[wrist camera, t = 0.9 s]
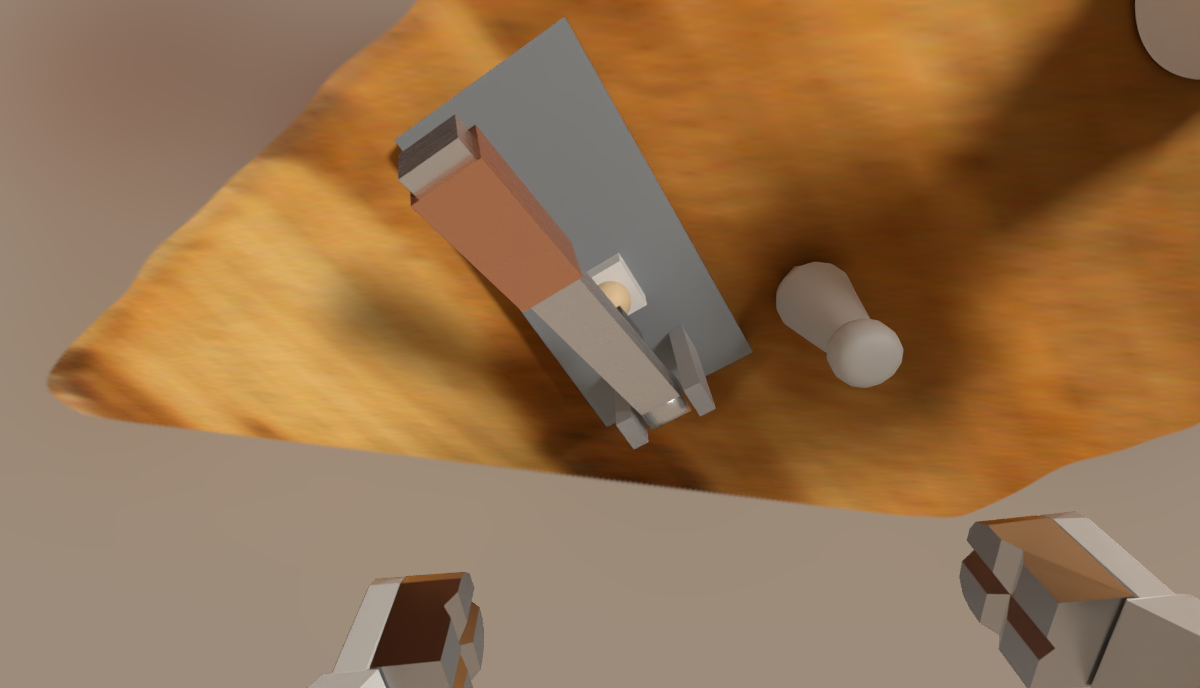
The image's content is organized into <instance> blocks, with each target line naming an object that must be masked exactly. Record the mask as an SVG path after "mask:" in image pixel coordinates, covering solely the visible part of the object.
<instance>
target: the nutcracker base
mask: <svg viewBox="0 0 1200 688" xmlns="http://www.w3.org/2000/svg"><path fill="white" fill-rule="evenodd" d="M454 114H455V115H456V116H457V117H458V118H459V119H460V121H461V122H462V123H463V124H464V125H465V127H466V128H467V129H470V128H471V127H472V126H474V125H475V124H476V126H477V127H478V128H479V129H480V130H481V132H482V133H483V134H484V135H485V137H486V138H487V139H488V140H489V142H490V143H491V144H492V145H493V146H494V148H495V149H496V150H497V151H498V153H499V154H500V155H501V156H502V158H503V159H504V160H505V161H506V162H507V164H508V165H509V166H510V167H511V169H512V170H513V171H514V172H515V173H516V175H517V176H518V177H519V178H520V180H521V181H522V182H523V183H524V185H525V186H526V187H527V188H528V189H529V191H530V192H531V193H532V194H533V196H534V197H535V198H536V199H537V201H538V202H539V203H540V204H541V205H542V207H543V208H544V209H545V210H546V212H547V213H548V214H549V215H550V217H551V218H552V219H553V220H554V221H555V223H556V224H557V225H558V226H559V228H560V229H561V230H562V231H563V233H564V234H565V235H566V236H567V237H568V239H569V240H570V241H571V242H572V245H573V248H574V251H575V254H576V258H577V261H578V262H579V264H580V265H581V266H582V267H583V268H584V270H585V271H586V272H587V273H588V274H589V276H590V277H591V278H592V279H593V280H594V282H595V283H596V284H597V285H598V286H599V288H600V289H601V290H602V291H603V292H604V294H605V295H606V296H607V297H608V298H609V300H610V301H611V302H612V303H613V304H614V306H615V307H616V308H617V307H618V306H621V308H622V309H623V310H624V311H625V313H626V314H627V315H628V316H629V317H630V319H631V320H632V321H633V322H634V324H635V325H636V326H637V327H638V328H639V330H640V331H641V333H642V336H643V339H644V341H645V343H646V344H647V345H648V346H649V348H650V349H651V350H652V351H653V352H654V354H655V355H656V356H657V357H658V358H659V360H660V361H661V362H662V363H663V364H664V366H665V367H666V368H667V369H668V370H669V372H670V373H673V374H674V375H675V376H676V377H677V379H678V380H679V382H680V384H681V385H682V387H683V391H684V392H685V394H686V395H687V397H688V398H689V400H690V402H691V403H692V405H693V406H694V408H695V409H696V411H697V412H698V414H699V416H702V415H704V414H706V413H708V412H710V411H712V410H714V409H716V407H715V404H714V401H713V398H712V395H711V392H710V389H709V386H708V383H707V380H706V376H708V375H710V374H712V373H714V372H716V371H718V370H720V369H722V368H723V367H725V366H727V365H729V364H731V363H733V362H735V361H737V360H739V359H741V358H743V357H745V356H747V355H749V354H751V353H753V351H752V349H751V347H750V346H749V344H748V342H747V340H746V338H745V336H744V335H743V333H742V331H741V329H740V328H739V326H738V324H737V322H736V320H735V319H734V317H733V315H732V313H731V311H730V310H729V308H728V306H727V304H726V303H725V301H724V299H723V297H722V295H721V294H720V292H719V290H718V288H717V287H716V285H715V283H714V281H713V279H712V278H711V276H710V274H709V272H708V271H707V269H706V267H705V265H704V263H703V262H702V260H701V258H700V256H699V254H698V253H697V251H696V249H695V247H694V246H693V244H692V242H691V240H690V238H689V237H688V235H687V233H686V231H685V230H684V228H683V226H682V224H681V222H680V221H679V219H678V217H677V215H676V214H675V212H674V210H673V208H672V206H671V205H670V203H669V201H668V199H667V198H666V196H665V194H664V192H663V190H662V189H661V187H660V185H659V183H658V181H657V180H656V178H655V176H654V174H653V173H652V171H651V169H650V167H649V165H648V164H647V162H646V160H645V158H644V157H643V155H642V153H641V151H640V149H639V148H638V146H637V144H636V142H635V141H634V139H633V137H632V135H631V133H630V132H629V130H628V128H627V126H626V124H625V123H624V121H623V119H622V117H621V116H620V114H619V112H618V110H617V108H616V107H615V105H614V103H613V101H612V100H611V98H610V96H609V94H608V92H607V91H606V89H605V87H604V85H603V84H602V82H601V80H600V78H599V76H598V75H597V73H596V71H595V69H594V67H593V66H592V64H591V62H590V60H589V59H588V57H587V55H586V53H585V51H584V50H583V48H582V46H581V44H580V43H579V41H578V39H577V37H576V35H575V34H574V32H573V30H572V28H571V27H570V25H569V23H568V21H567V19H566V18H565V17H563V18H562V19H561V20H559V21H558V22H556V23H555V24H554V25H552V26H551V27H550V28H548V29H547V30H545V31H544V32H543V33H541V34H540V35H539V36H537V37H536V38H534V39H533V40H532V41H530V42H529V43H528V44H526V45H525V46H523V47H522V48H521V49H519V50H518V51H516V52H515V53H514V54H512V55H511V56H510V57H508V58H507V59H505V60H504V61H503V62H501V63H500V64H499V65H497V66H496V67H494V68H493V69H492V70H490V71H489V72H488V73H486V74H485V75H483V76H482V77H481V78H479V79H478V80H476V81H475V82H474V83H472V84H471V85H470V86H468V87H467V88H465V89H464V90H463V91H461V92H460V93H459V94H457V95H456V96H454V97H453V98H452V99H450V100H449V101H448V102H446V103H445V104H443V105H442V106H441V107H439V108H438V109H437V110H435V111H434V112H432V113H431V114H430V115H428V116H427V117H425V118H424V119H423V120H421V121H420V122H419V123H417V124H416V125H414V126H413V127H412V128H410V129H409V130H408V131H406V132H405V133H403V134H402V135H401V136H399V137H398V138H397V139H395V142H396V143H397V144H398V146H399V147H400V148H401V150H402V151H404V150H405V149H407V148H408V147H410V146H411V145H412V144H414V143H415V142H417V141H418V140H419V139H421V138H422V137H424V136H425V135H426V134H428V133H429V132H431V131H432V130H433V129H435V128H436V127H438V126H439V125H440V124H442V123H443V122H445V121H446V120H447V119H449V118H450V117H452V116H453V115H454ZM520 311H521V310H520ZM521 312H522V311H521ZM522 313H523V315H524V316H525V317H526V319H527V320H528V321H529V323H530V324H531V325H532V327H533V328H534V329H535V331H536V332H537V334H538V335H539V336H540V338H541V339H542V340H543V342H544V343H545V344H546V346H547V347H548V348H549V350H550V351H551V352H552V354H553V355H554V357H555V358H556V359H557V361H558V362H559V363H560V365H561V366H562V367H563V369H564V370H565V371H566V373H567V374H568V375H569V377H570V378H571V380H572V381H573V382H574V384H575V385H576V386H577V388H578V389H579V390H580V392H581V393H582V394H583V396H584V397H585V398H586V400H587V401H588V403H589V404H590V405H591V407H592V408H593V409H594V411H595V412H596V413H597V415H598V416H599V417H600V419H601V420H602V421H603V423H604V424H605V426H606V427H608V426H610V425H612V424H614V423H616V426H617V427H618V428H619V430H620V431H621V433H622V434H623V435H624V437H625V438H626V439H627V441H628V442H629V444H630V445H631V446H632V448H633V449H636V448H638V447H640V446H642V445H644V444H646V443H648V442H649V440H648V432H647V425H646V422H645V420H644V419H643V417H642V415H641V414H640V413H639V412H637V411H636V410H635V409H634V408H633V407H632V406H631V405H630V404H629V403H628V402H627V401H626V400H625V399H624V398H623V397H622V396H621V395H620V394H619V393H618V392H617V391H616V390H615V389H614V388H613V387H612V386H611V385H610V384H609V383H608V382H607V381H605V380H604V379H603V378H602V377H601V376H600V375H599V374H598V373H597V372H596V371H595V370H594V369H593V368H592V367H591V366H590V365H589V364H588V363H587V362H586V361H585V360H584V359H583V358H582V357H581V356H580V355H579V354H578V353H577V352H576V351H575V350H574V349H572V348H571V347H570V346H569V345H568V344H567V343H566V342H565V341H564V340H563V339H562V338H561V337H560V336H559V335H558V334H557V333H556V332H555V331H554V330H553V329H552V328H551V327H550V326H549V325H548V324H547V323H546V322H545V321H544V320H543V319H542V318H541V317H539V316H538V315H537V314H536V313H535V312H534V311H533V310H532V309H531V308H530V309H528V310H526V311H525V312H522Z"/></svg>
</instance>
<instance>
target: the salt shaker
mask: <svg viewBox="0 0 1200 688" xmlns="http://www.w3.org/2000/svg"><path fill="white" fill-rule="evenodd" d="M776 309H777V312H778V313H779V315H780V317H781V319H782V321H783V323H784V324H785V325H786V326H788V327H789V328H791V329H792V330H794V331H795V332H796V333H798V334H799V335H801V336H802V337H804V338H805V339H807V340H808V341H809V342H811V343H812V344H814V345H815V346H817V347H818V348H820V349H821V350H822V351H824V352H825V353H827V361H828V363H829V365H830V367H831V369H832V371H833V373H834V374H835V376H836V377H838V378H839V379H840V380H842V381H844V382H845V383H847V384H849V385H850V386H852V387H861V388H868V387H871V386H875V385H878V384H881V383H883V382H884V381H885V380H887V379H888V378H890V377H891V376H893V375H894V373H895V372H896V370H897V369H898V367H899V366H900V364H901V363H902V357H903V350H904V349H903V347H902V345H901V343H900V340H899V338H898V336H897V335H896V333H895V332H894V331H893V330H892V329H890V328H889V327H887V326H886V325H884V324H883V323H882V322H880V321H879V320H873V319H870V317H869V316H868V314H867V312H866V310H865V308H864V306H863V305H862V303H861V301H860V299H859V297H858V296H857V294H856V292H855V290H854V288H853V286H852V284H851V282H850V280H849V278H848V276H847V274H846V273H845V272H843V271H842V270H841V269H839V268H838V267H836V266H835V265H833V264H831V263H823V262H811V263H808V264H805V265H802V266H794V267H793V268H792V269H791V270H790V272H789V273H788V274H787V275H786V276H785V277H784V279H783V280H782V281H781V283H780V284H779V286H778V289H777V292H776Z"/></svg>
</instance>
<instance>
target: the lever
mask: <svg viewBox="0 0 1200 688" xmlns="http://www.w3.org/2000/svg"><path fill="white" fill-rule="evenodd" d="M398 180H399V181H400V182H401V183H402V184H403V185H404V186H405V187H406V188H407V189H408V190H410V196H411V207H412V208H413V209H414V210H415V211H416V212H417V213H418V214H419V215H420V216H421V217H422V218H424V219H425V220H426V221H427V222H428V223H429V224H430V225H431V226H432V227H433V228H434V229H435V230H436V231H437V232H438V233H439V234H440V235H442V236H443V237H444V238H445V239H446V240H447V241H448V242H449V243H450V244H451V245H452V246H453V247H454V248H455V249H456V250H457V251H459V252H460V253H461V254H462V255H463V256H464V257H465V258H466V259H467V260H468V261H469V262H470V263H471V264H472V265H473V266H474V267H475V268H477V269H478V270H479V271H480V272H481V273H482V274H483V275H484V276H485V277H486V278H487V279H488V280H489V281H490V282H491V283H492V284H493V285H495V286H496V287H497V288H498V289H499V290H500V291H501V292H502V293H503V294H504V295H505V296H506V297H507V298H508V299H509V300H510V301H512V302H513V303H514V304H515V305H516V306H517V307H518V308H519V309H520V310H521V311H522V312H525V311H526V310H528V309H530V308H531V309H532V310H533V311H534V312H535V313H536V314H537V315H538V316H539V317H541V318H542V319H543V320H544V321H545V322H546V323H547V324H548V325H549V326H550V327H551V328H552V329H553V330H554V331H555V332H556V333H557V334H558V335H559V336H560V337H561V338H562V339H563V340H564V341H565V342H566V343H567V344H568V345H569V346H570V347H571V348H572V349H574V350H575V351H576V352H577V353H578V354H579V355H580V356H581V357H582V358H583V359H584V360H585V361H586V362H587V363H588V364H589V365H590V366H591V367H592V368H593V369H594V370H595V371H596V372H597V373H598V374H599V375H600V376H601V377H602V378H603V379H604V380H605V381H607V382H608V383H609V384H610V385H611V386H612V387H613V388H614V389H615V390H616V391H617V392H618V393H619V394H620V395H621V396H622V397H623V398H624V399H625V400H626V401H627V402H628V403H629V404H630V405H631V406H632V407H633V408H634V409H635V410H636V411H637V412H639V413H640V414H641V415H642V417H643V419H644V420H645V422H646V423H647V425H648V426H649V427H650V428H651V429H653V430H654V429H656V428H658V427H660V426H662V425H664V424H666V423H668V422H670V421H672V420H674V419H676V418H678V417H680V416H682V415H684V414H686V413H688V412H690V411H692V407H691V404H690V401H689V399H688V397H687V395H686V394H685V392H684V391H683V387H682V385H681V384H680V382H679V380H678V379H677V377H676V376H675V375H674V374H673V373H670V372H669V370H668V369H667V368H666V367H665V366H664V364H663V363H662V362H661V361H660V360H659V358H658V357H657V356H656V355H655V354H654V352H653V351H652V350H651V349H650V348H649V346H648V345H647V344H646V343H645V341H644V339H643V336H642V333H641V331H640V330H639V328H638V327H637V326H636V325H635V324H634V322H633V321H632V320H631V319H630V317H629V316H628V315H627V314H626V313H625V311H624V310H623V309H622V308H621V306H618V307H617V308H616V307H615V306H614V304H613V303H612V302H611V301H610V300H609V298H608V297H607V296H606V295H605V294H604V292H603V291H602V290H601V289H600V288H599V286H598V285H597V284H596V283H595V282H594V280H593V279H592V278H591V277H590V276H589V274H588V273H587V272H586V271H585V270H584V268H583V267H582V266H581V265H580V264H579V262H578V261H577V258H576V254H575V251H574V248H573V245H572V242H571V241H570V240H569V239H568V237H567V236H566V235H565V234H564V233H563V231H562V230H561V229H560V228H559V226H558V225H557V224H556V223H555V221H554V220H553V219H552V218H551V217H550V215H549V214H548V213H547V212H546V210H545V209H544V208H543V207H542V205H541V204H540V203H539V202H538V201H537V199H536V198H535V197H534V196H533V194H532V193H531V192H530V191H529V189H528V188H527V187H526V186H525V185H524V183H523V182H522V181H521V180H520V178H519V177H518V176H517V175H516V173H515V172H514V171H513V170H512V169H511V167H510V166H509V165H508V164H507V162H506V161H505V160H504V159H503V158H502V156H501V155H500V154H499V153H498V151H497V150H496V149H495V148H494V146H493V145H492V144H491V143H490V142H489V140H488V139H487V138H486V137H485V135H484V134H483V133H482V132H481V130H480V129H479V128H478V127H477V126H476V124H475V125H474V126H472V127H471V128H470V129H467V128H466V127H465V125H464V124H463V123H462V122H461V121H460V119H459V118H458V117H457V116H456V115H455V114H454V115H453V116H452V117H450V118H449V119H447V120H446V121H445V122H443V123H442V124H440V125H439V126H438V127H436V128H435V129H433V130H432V131H431V132H429V133H428V134H426V135H425V136H424V137H422V138H421V139H419V140H418V141H417V142H415V143H414V144H412V145H411V146H410V147H408V148H407V149H405V150H404V151H403V152H401V153H400V154H399V173H398Z"/></svg>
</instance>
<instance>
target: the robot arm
mask: <svg viewBox="0 0 1200 688" xmlns="http://www.w3.org/2000/svg"><path fill="white" fill-rule="evenodd" d="M1135 14H1136V22H1137V27H1138V31H1139V34H1140V37H1141V40H1142V42H1143V44H1144V46H1145V48H1146V50H1147V51H1148V53H1149V54H1150V56H1151V57H1152V58H1153V59H1154V60H1155V61H1156V62H1157V63H1158V64H1159V65H1160V66H1162V67H1163V68H1164V69H1166V70H1168V71H1169V72H1171V73H1173V74H1176V75H1178V76H1181V77H1185V78H1190V79H1197V80H1200V0H1135ZM967 541H968V543H969V544H970V545H971V546H972V548H973V549H974V550H973V551H972V552H971V553H970V554H969V555H968V556H967V557H966V558H965V559H964V560H963V561H962V565H961V571H960V582H961V587H962V592H963V595H964V598H965V600H966V602H967V604H968V606H969V608H970V610H971V611H972V612H973V614H974V615H975V617H976V618H977V620H978V621H979V623H981V624H982V625H984V626H986V627H987V628H989V629H991V630H992V631H994V632H995V633H997V634H999V650H1000V652H1001V653H1002V654H1003V656H1004V657H1005V658H1006V660H1007V661H1008V662H1009V664H1010V665H1011V667H1012V668H1013V669H1014V671H1015V672H1016V673H1017V675H1018V676H1019V677H1020V679H1021V680H1022V682H1023V683H1024V684H1025V686H1026V687H1027V688H1083V687H1091V688H1200V600H1199V599H1197V598H1195V597H1193V596H1191V595H1189V594H1174V593H1173V592H1172V591H1171V590H1170V589H1169V588H1167V587H1166V586H1165V585H1164V584H1163V583H1162V582H1161V581H1159V580H1158V579H1157V578H1156V577H1155V576H1154V575H1153V574H1151V573H1150V572H1149V571H1148V570H1147V569H1146V568H1145V567H1143V566H1142V565H1141V564H1140V563H1139V562H1138V561H1136V560H1135V559H1134V558H1133V557H1132V556H1131V555H1130V554H1129V553H1127V552H1126V551H1125V550H1124V549H1123V548H1122V547H1120V546H1119V545H1118V544H1117V543H1116V542H1115V541H1114V540H1112V539H1111V538H1110V537H1109V536H1108V535H1107V534H1106V533H1104V532H1103V531H1102V530H1101V529H1100V528H1099V527H1098V526H1096V525H1095V524H1094V523H1093V522H1092V521H1091V520H1090V519H1088V518H1087V517H1085V516H1084V515H1081V514H1079V513H1077V512H1075V511H1074V512H1064V513H1055V514H1045V515H1040V516H1026V517H1016V518H1008V519H998V520H989V521H980V522H975V523H974V524H973V526H972V527H971V528H970V530H969V534H968V538H967ZM473 590H474V586H473V583H472V580H471V577H470V574H469V573H466V572H459V573H445V574H432V575H416V576H406V577H397V578H382V579H376V580H375V581H374V582H373V583H372V584H371V585H370V586H369V587H368V589H367V592H366V594H365V596H364V599H363V601H362V603H361V606H360V608H359V610H358V613H357V615H356V617H355V620H354V622H353V624H352V627H351V629H350V631H349V634H348V636H347V638H346V641H345V643H344V645H343V648H342V650H341V652H340V655H339V657H338V659H337V662H336V664H335V667H334V669H333V671H332V673H328V674H322V675H321V676H320V677H319V678H317V679H316V680H315V681H314V682H313V683H312V684H311V685H310V686H309V687H308V688H473V686H472V683H471V680H472V679H473V678H474V676H475V675H476V674H477V673H478V672H479V671H480V669H481V663H482V657H483V648H484V628H483V620H482V615H481V611H480V608H479V607H478V606H477V605H476V604H474V603H473V602H472V596H473Z"/></svg>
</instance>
